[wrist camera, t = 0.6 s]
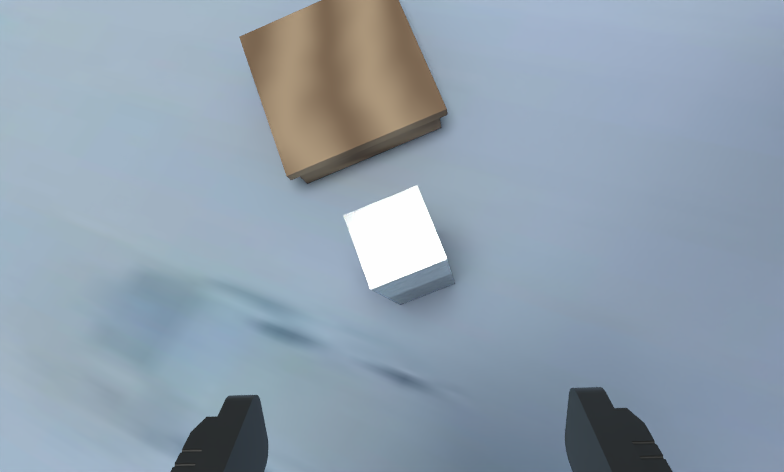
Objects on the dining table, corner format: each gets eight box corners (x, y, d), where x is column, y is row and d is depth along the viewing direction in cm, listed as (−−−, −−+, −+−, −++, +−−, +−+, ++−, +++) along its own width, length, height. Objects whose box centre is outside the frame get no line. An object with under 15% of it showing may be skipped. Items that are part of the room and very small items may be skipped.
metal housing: (433, 230, 40) (417, 185, 29) (454, 283, 39) (447, 258, 28) (380, 251, 41) (343, 215, 29) (400, 304, 40) (370, 289, 28)
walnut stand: (393, 3, 45) (386, -29, 41) (449, 130, 42) (446, 109, 38) (259, 62, 46) (239, 36, 42) (303, 191, 43) (286, 176, 39)
